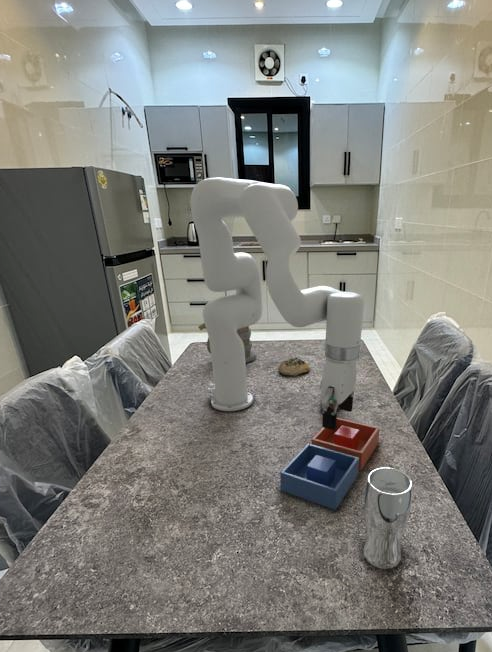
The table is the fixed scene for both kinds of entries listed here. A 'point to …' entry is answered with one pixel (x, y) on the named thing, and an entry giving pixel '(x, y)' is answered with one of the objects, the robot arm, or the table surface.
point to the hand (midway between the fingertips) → (337, 418)
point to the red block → (347, 437)
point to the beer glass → (386, 515)
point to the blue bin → (327, 496)
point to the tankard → (245, 337)
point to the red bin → (363, 451)
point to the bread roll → (293, 367)
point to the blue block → (321, 470)
